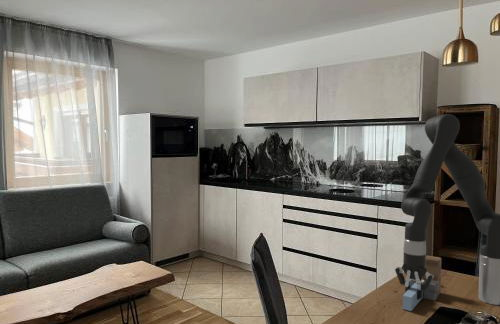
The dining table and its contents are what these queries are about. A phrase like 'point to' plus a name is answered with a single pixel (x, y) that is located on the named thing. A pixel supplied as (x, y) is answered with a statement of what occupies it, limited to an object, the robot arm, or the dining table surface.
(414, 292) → the blue and white bar
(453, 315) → the dining table surface
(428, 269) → the brown and grey stand
